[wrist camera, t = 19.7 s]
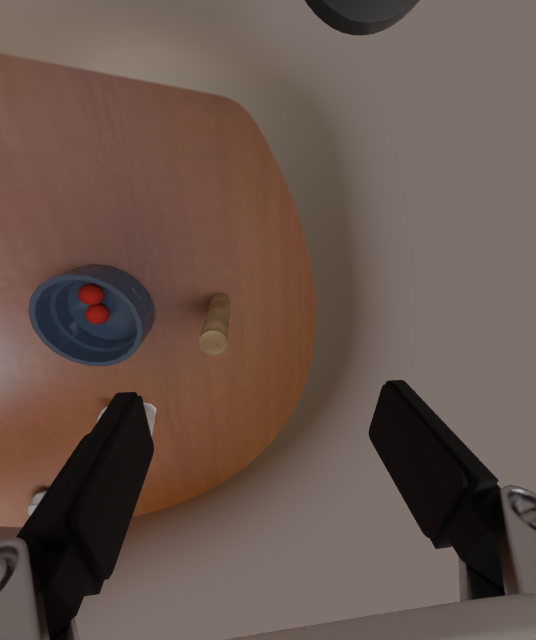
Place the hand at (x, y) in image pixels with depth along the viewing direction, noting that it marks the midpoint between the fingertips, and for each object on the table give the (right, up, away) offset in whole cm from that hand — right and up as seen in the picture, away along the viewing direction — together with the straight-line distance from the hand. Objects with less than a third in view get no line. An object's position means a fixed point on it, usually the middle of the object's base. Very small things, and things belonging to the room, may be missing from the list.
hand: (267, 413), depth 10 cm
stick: (-8, +7, +29) cm, 31 cm away
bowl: (-25, +6, +28) cm, 38 cm away
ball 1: (-25, +7, +25) cm, 36 cm away
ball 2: (-25, +5, +26) cm, 36 cm away
